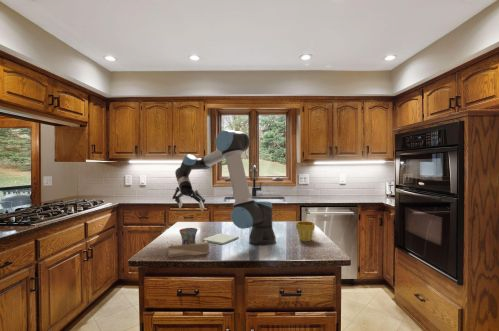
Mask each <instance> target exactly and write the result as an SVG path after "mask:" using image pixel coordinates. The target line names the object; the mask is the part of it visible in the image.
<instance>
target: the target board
mask: <svg viewBox="0 0 499 331" xmlns="http://www.w3.org/2000/svg"><path fill="white" fill-rule="evenodd" d="M238 239H240V238H239V236H237V235H232V234H231V235H230V234H225V233H216V234H214V235H212V236H208V237H205V238H202V242H205V241H207V243H212V244H219V245H222V246H223V245H226V244H228V243H231V242H233V241H236V240H238Z"/></svg>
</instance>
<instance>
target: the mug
mask: <svg viewBox="0 0 499 331" xmlns="http://www.w3.org/2000/svg"><path fill="white" fill-rule="evenodd" d="M179 233H180V236H181V245H187V244H197V243H196V236H197V233H198V228H196V227H185V228H181V229H179Z"/></svg>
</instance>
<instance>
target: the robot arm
mask: <svg viewBox="0 0 499 331" xmlns="http://www.w3.org/2000/svg"><path fill="white" fill-rule="evenodd" d="M214 142H215V148H216V150H214V151H212V152H210V153H209V154H207V155H205V156H202V157H199V158H197V157H196V156H195V155H193V154H186V155H184V157H183V159H182V162H181V164H180V166H179V167H178V168H176V170H175V171H174V174H175V177H176V181H177V183H178V184H177V185H178V186H177V187H176V189H175V190H174V191H175V192H174V194H173V196H172V198H171V199H172V200H174V202H176V203H177V204H178V208H179V209H182V207H183V201H182V199H181V198H182V197H183V196H185V197H190V198H192V199H194V200H195V201H196V202H198V205H199V209H200V211H201V212H203V211H204V209H205V202H206V199H205V197H203V196H202V195H201V193H200V192H199V191H198V190H197V189H196V190H193V187H192V183H191V180H190V177H189V176H190V174H191V172H192V171H193V170H194V171H195V170H209V169H211V168H212V166H214V165H215V164H218V163H220V162H221V161H223V160H225V161H226V165H227V166H226V167H227V170H228V175H229V179H230V184H231V189H232V192H233V193H232V194H233V199H234V203H233V204H232V206H233V209H232V210H231V214H230V217H231V221H232V223H233V224H234V226H235V227H237V228H238V229H240V230H241V229H242V230H245V229H250V228H251V231H250V234H249V238H248V239H249V241H248V242H249V243H250V244H252V245H256V246H257V245H259V246H260V245H261V246H267V245H273V244H275V243H276V241H277V239H276V237H277V236H276V233H275V231H274V227H273V204H272V202H271V201H267V200H265V201H264V200H255V199H254V198H252V197H251V193H250V189H249V185H248V180H247V176H246V171H245V167H244V162H243V158H242V154H243V153H244V152H246V151H247V150H248V149H249V147H250V145H251V140H250V137H249V136H248V134H247V133H245V132H244V131H237V130H236V131H235V130H230V129H223V130H221V131H219V132H218V133H217V135H216V137H215V141H214ZM178 193H179V194H178Z"/></svg>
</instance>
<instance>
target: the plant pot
mask: <svg viewBox="0 0 499 331" xmlns="http://www.w3.org/2000/svg"><path fill="white" fill-rule="evenodd" d="M295 227H296V228H295V229H297V234H298V239H299V241H301V242H310V241H312V239H313V238H312V237H313V232H314V230H315V222H313V221H309V220H308V221H305V220H304V221H303V220H301V221H297V222H296V223H295Z"/></svg>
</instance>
